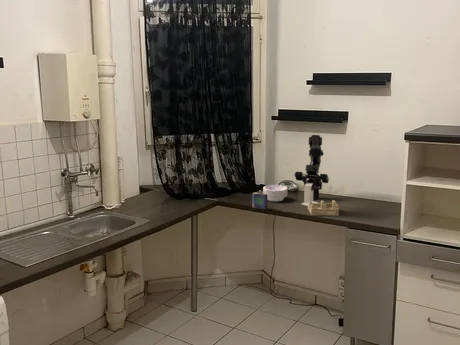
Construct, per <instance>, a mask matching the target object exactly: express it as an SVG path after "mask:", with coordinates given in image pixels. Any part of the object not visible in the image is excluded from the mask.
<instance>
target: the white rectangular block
mask: <svg viewBox="0 0 460 345" xmlns="http://www.w3.org/2000/svg"><path fill="white" fill-rule="evenodd" d="M312 185H313V183H307V184H306V185H305V186H304V185H303V186H304V190H303V192H304V194H303V195H304V196H303V197H304V199H303V203H311V202H312V201H314V200H313V190H312V191H311V188H312Z"/></svg>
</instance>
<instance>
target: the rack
mask: <svg viewBox="0 0 460 345" xmlns="http://www.w3.org/2000/svg"><path fill="white" fill-rule="evenodd" d="M339 209H340V206H339V205H338V203H337V202H336V200H334V199H332V200H331V202H330V203H329V202H328V203H327V202H326V203H325V201H324V200H323V199H322V200H321V199H320V202H317V203H312V202H311V203H308V206H307V210H308V212H309V213H310V216H330V217H331V216H332V217H333V216H337V217H338V216H339V215H340V212H339V211H340V210H339Z"/></svg>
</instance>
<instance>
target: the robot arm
mask: <svg viewBox="0 0 460 345" xmlns="http://www.w3.org/2000/svg"><path fill="white" fill-rule="evenodd" d="M322 145H323V137H321V135H319V134H312V135H311V136H309V137H308V146H309V150H308V157H310V162H309V164H306V165H305V173H304V172H303V171H295V172H294V177H295V180H296V181H302V183H303V186H305V185H306V184H307V183H313V185H312V188H311V191H312V190H313V201H314V200H321V197H320V191H321V190H322V189H323V184H328V183H329V181H330V179H329V176H328V174H327V173H320V174H319V172H320V166H321V162H322V160H321V158H322V157H323V156H324V152H323V149H322Z"/></svg>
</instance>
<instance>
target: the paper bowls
mask: <svg viewBox="0 0 460 345" xmlns="http://www.w3.org/2000/svg"><path fill="white" fill-rule="evenodd" d="M262 190H263V191H262V193H265V194H267V201H270V202H281V201H284V199H285V198H286V197H288V190H289V189H288V187H287V186H285V185H282V184H268V185H265V186H263V188H262Z"/></svg>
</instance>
